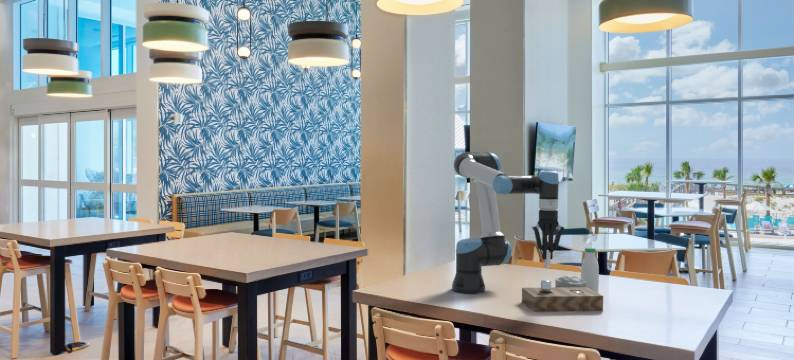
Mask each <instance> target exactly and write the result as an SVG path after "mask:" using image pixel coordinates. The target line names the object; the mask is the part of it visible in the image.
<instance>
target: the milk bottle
mask: <svg viewBox="0 0 794 360" xmlns="http://www.w3.org/2000/svg"><path fill="white" fill-rule="evenodd" d="M596 250H597V249H596V247H585V248H584V253H585V255H584V258H583V260H582V262H581V267H580V279H582V280H583V281H586V282H587V286H586V287H587V288H589V289H591V290H593V291H595V292H597V293H599V283H600V282H599V281H600V274H599V273H600V271H599V270H600V269H599V268H600V267H599V263H598V259H597V258H596Z"/></svg>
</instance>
